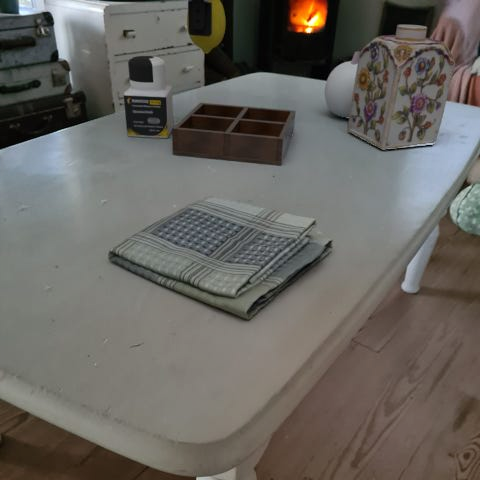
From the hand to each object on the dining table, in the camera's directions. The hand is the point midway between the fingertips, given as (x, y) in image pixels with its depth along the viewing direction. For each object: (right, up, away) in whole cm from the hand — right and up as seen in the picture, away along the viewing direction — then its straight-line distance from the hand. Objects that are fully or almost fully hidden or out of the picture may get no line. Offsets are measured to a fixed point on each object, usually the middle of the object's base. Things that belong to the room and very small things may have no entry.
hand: (205, 31), depth 75 cm
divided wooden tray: (+4, -12, +14) cm, 18 cm away
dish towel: (+3, -35, -19) cm, 40 cm away
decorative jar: (+32, -9, +19) cm, 38 cm away
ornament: (+27, -1, +30) cm, 40 cm away
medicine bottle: (-11, -8, +17) cm, 22 cm away
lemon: (0, -3, +2) cm, 3 cm away
